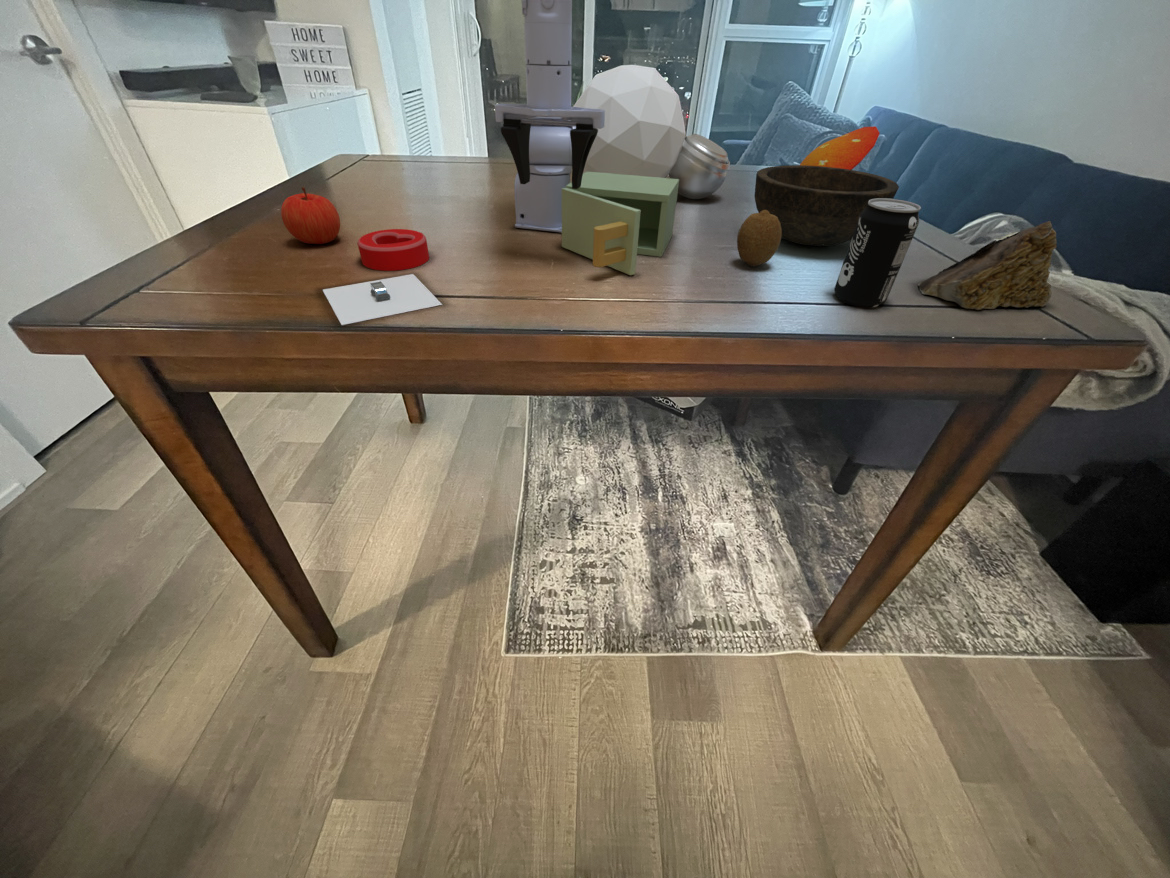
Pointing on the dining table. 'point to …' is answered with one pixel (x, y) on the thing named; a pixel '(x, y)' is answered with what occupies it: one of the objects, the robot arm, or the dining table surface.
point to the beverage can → (876, 251)
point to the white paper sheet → (379, 298)
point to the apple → (310, 218)
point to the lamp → (649, 133)
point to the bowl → (818, 200)
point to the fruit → (759, 238)
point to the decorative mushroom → (844, 149)
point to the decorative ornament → (393, 249)
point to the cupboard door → (600, 230)
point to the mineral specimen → (1000, 273)
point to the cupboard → (639, 204)
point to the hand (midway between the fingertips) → (550, 185)
